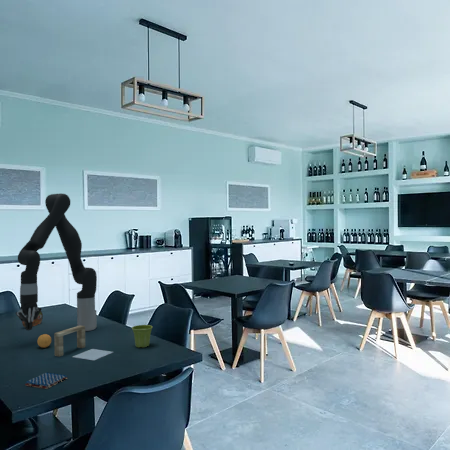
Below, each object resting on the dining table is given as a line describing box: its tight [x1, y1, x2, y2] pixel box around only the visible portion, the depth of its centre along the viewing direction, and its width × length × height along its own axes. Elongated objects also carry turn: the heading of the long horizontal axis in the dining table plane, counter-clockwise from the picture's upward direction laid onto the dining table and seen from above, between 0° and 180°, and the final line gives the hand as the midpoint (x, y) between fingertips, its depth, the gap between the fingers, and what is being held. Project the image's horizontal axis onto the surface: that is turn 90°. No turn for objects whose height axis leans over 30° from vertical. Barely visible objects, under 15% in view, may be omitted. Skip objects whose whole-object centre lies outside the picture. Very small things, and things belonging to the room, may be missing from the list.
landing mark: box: [72, 348, 114, 362], centre depth 180 cm, size 12×12×1 cm
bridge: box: [53, 325, 86, 357], centre depth 186 cm, size 3×15×10 cm, turn 155°
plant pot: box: [131, 324, 153, 348], centre depth 192 cm, size 9×9×9 cm
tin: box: [21, 310, 44, 328], centre depth 235 cm, size 15×3×8 cm, turn 168°
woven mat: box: [24, 372, 68, 390], centre depth 149 cm, size 10×11×2 cm
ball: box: [36, 333, 52, 348], centre depth 192 cm, size 6×6×6 cm
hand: (28, 329), depth 196 cm, fingers closed
